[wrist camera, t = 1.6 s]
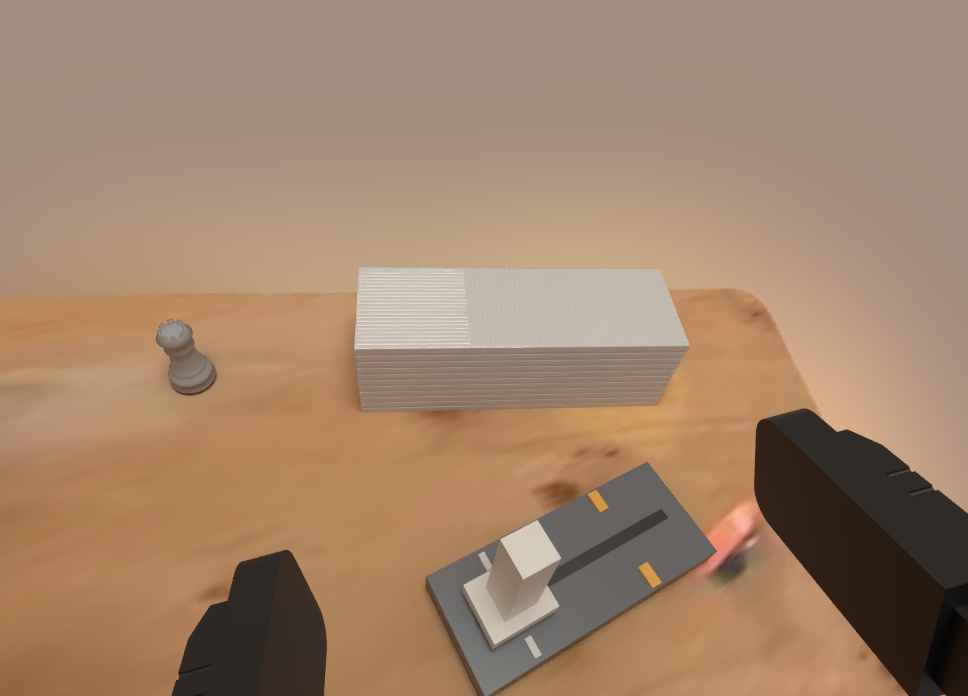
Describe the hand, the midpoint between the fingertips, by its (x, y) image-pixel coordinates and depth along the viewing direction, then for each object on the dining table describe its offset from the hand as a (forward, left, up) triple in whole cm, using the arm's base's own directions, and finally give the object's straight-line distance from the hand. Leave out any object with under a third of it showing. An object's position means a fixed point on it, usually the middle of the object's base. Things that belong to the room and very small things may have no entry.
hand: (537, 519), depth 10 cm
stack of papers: (+37, +4, -45) cm, 58 cm away
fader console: (+17, -7, -44) cm, 48 cm away
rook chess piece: (+25, +35, -45) cm, 62 cm away
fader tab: (+12, -2, -41) cm, 43 cm away
